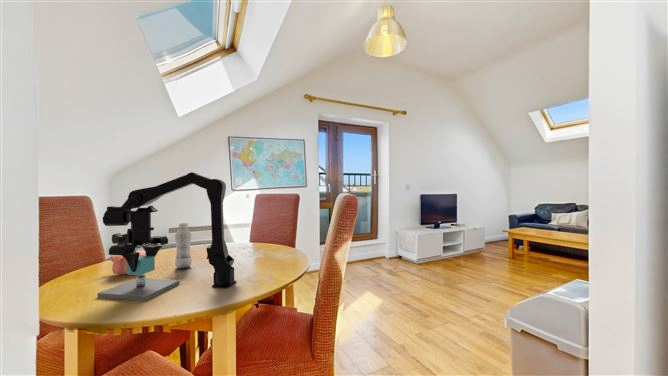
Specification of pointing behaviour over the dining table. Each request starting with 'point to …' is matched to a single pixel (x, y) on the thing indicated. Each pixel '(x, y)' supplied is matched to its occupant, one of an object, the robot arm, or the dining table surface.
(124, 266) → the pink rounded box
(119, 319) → the dining table surface
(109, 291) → the base plate
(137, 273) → the turquoise cube
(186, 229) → the plastic bottle
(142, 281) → the silver cabinet knob
